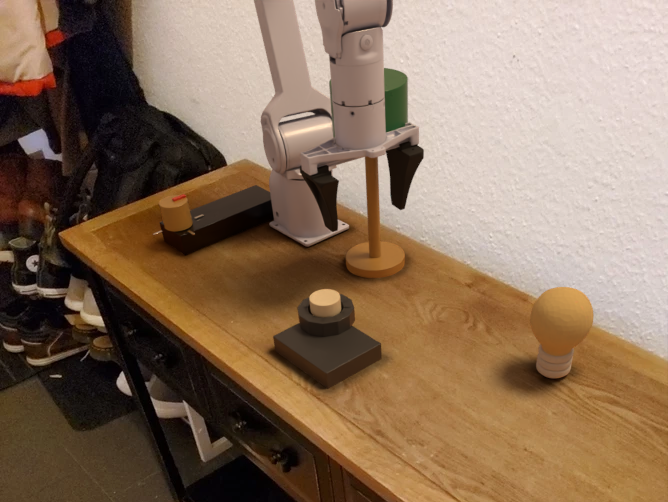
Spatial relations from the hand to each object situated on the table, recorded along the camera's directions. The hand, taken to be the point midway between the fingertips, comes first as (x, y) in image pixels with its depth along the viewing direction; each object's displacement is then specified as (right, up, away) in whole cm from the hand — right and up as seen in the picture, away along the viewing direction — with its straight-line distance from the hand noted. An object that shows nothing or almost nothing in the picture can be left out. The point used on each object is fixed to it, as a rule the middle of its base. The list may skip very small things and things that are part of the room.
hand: (364, 217), depth 90 cm
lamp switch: (-5, -12, -4) cm, 13 cm away
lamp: (+2, -2, +11) cm, 11 cm away
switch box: (-4, -17, -3) cm, 17 cm away
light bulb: (+21, -20, -8) cm, 30 cm away
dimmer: (-22, +5, +20) cm, 30 cm away
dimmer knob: (-26, +4, +15) cm, 31 cm away
